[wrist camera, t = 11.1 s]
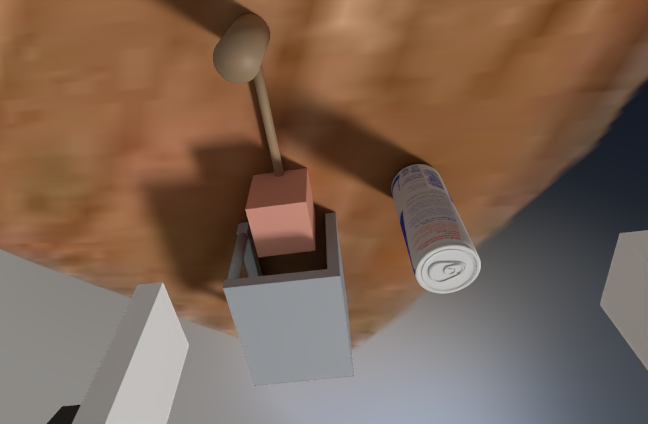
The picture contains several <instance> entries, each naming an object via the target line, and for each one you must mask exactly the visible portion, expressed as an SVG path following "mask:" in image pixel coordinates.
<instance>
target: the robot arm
mask: <svg viewBox="0 0 648 424" xmlns="http://www.w3.org/2000/svg"><path fill="white" fill-rule="evenodd" d="M600 305H601V307H602V308H603V310H604V311H605V312H606V314H607V315H608V316H609V318H610V319H611V321H612V322H613V323H614V325H615V326H616V327H617V329H618V330H619V331H620V333H621V334H622V336H624V338H625V340H626V341H627V342H628V344H629V345H630V347H631V348H632V349H633V350H634V352H635V353H636V355H637V356H638V357H639V359H640V360H641V362H642V363H643V364H644V366H645V367H646V368H647V370H648V230H646V231H637V232H628V233H620V234H619V238H618V242H617V245H616V249H615V252H614V256H613V259H612V263H611V266H610V270H609V274H608V277H607V281H606V285H605V288H604V292H603V295H602V299H601V302H600ZM188 347H189V344H188V342H187V339H186V337H185V335H184V332H183V330H182V327H181V325H180V323H179V320H178V318H177V315H176V313H175V310H174V308H173V306H172V303H171V301H170V298H169V296H168V293H167V291H166V289H165V286H164V284H163V282H160V283H151V284H141V285H137V287H136V289H135V291H134V293H133V296H132V298H131V300H130V302H129V304H128V306H127V308H126V311H125V312H124V315H123V317H122V319H121V321H120V323H119V325H118V328H117V330H116V332H115V334H114V336H113V338H112V340H111V342H110V344H109V346H108V348H107V351H106V353H105V355H104V357H103V359H102V361H101V363H100V365H99V367H98V370H97V372H96V374H95V376H94V378H93V380H92V382H91V384H90V387H89V389H88V391H87V393H86V395H85V397H84V399H83V401H82V403H81V405H74V406H63V407H61V409H60V410H59V411H58V412H57V413H56V414H55V415H54V416H53V418H51V420H50V421H49V422H48V423H47V424H167V420H168V417H169V413H170V409H171V406H172V402H173V399H174V396H175V392H176V389H177V385H178V382H179V379H180V375H181V371H182V368H183V365H184V361H185V358H186V354H187V351H188Z"/></svg>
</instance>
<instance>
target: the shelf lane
mask: <svg viewBox="0 0 648 424" xmlns="http://www.w3.org/2000/svg"><path fill="white" fill-rule="evenodd" d="M325 221H326V247H327V269H324V270H315V271H305V272H296V273H287V274H277V275H268V276H263V275H262V271H261V268H260V264H259V260H258V256H257V252H256V248H255V244H254V240H253V236H252V232H251V229H250V225H249V222H244V223H239V224H238V229H237V240H236V244H235V248H234V253H233V257H232V261H231V265H230V270H229V274H228V278H227V280H225V282H224V286H223V290H224V293H225V296H226V299H227V302H228V305H229V308H230V311H231V314H232V318H233V321H234V324H235V327H236V330H237V333H238V336H239V339H240V342H241V346H242V349H243V352H244V355H245V358H246V361H247V364H248V367H249V370H250V373H251V376H252V379H253V383H254V385H255V386H256V385H267V384H277V383H288V382H299V381H308V380H319V379H331V378H340V377H351V376H354V375H353V363H352V351H351V340H350V328H349V316H348V305H347V297H346V290H345V282H344V274H343V266H342V259H341V251H340V243H339V236H338V228H337V220H336V212H333V213H325ZM243 260H244V262H245V266H246V269H247V273H248V277H249V278H240V275H241V270H242V265H243Z"/></svg>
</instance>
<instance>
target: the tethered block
mask: <svg viewBox="0 0 648 424" xmlns="http://www.w3.org/2000/svg"><path fill="white" fill-rule="evenodd" d="M269 40H270V31H269V27H268V25H267V23H266V22H265V21H264V20H263V19H262V18H261V17H260V16H258V15H256V14H252V13H246V14H242V15H240V16H239V17H237V18H236V19H235V20H234V22H233V23H232V25H231V26H230V27H229V29H228V30H227V31H226V33H225V34H224V36H223V37H222V38H221V40H220V41H219V42H218V44H217V45H216V47H215V49H214V53H213V62H214V66H215V68H216V70H217V72H218V73H219V74H220V75H221V76H222V77H223V78H224V79H225V80H227V81H229V82H232V83H236V84H241V83H246V82H249V81H251V80H252V79H253V78H254V83H255V87H256V92H257V96H258V101H259V105H260V110H261V114H262V119H263V123H264V128H265V132H266V137H267V141H268V146H269V150H270V155H271V159H272V164H273V168H274V172H273V173H265V174H258V175H253V178H252V182H251V187H250V191H249V195H248V200H247V204H246V208H245V211H246V214H247V218H248V221H249V225H250V229H251V232H252V236H253V240H254V243H255V247H256V250H257V254H258V257H266V256H275V255H283V254H291V253H299V252H308V251H315V209H314V204H313V198H312V193H311V187H310V181H309V176H308V170H307V168H303V169H296V170H288V171H284V170H283V166H282V161H281V156H280V151H279V147H278V142H277V137H276V132H275V127H274V123H273V118H272V113H271V108H270V104H269V99H268V94H267V89H266V85H265V80H264V75H263V70H262V66H261V63H262V61H263V58H264V55H265V52H266V49H267V46H268V43H269Z"/></svg>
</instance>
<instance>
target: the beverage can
mask: <svg viewBox="0 0 648 424" xmlns="http://www.w3.org/2000/svg"><path fill="white" fill-rule="evenodd" d="M391 192H392V195H393V199H394V203H395V206H396V210H397V213H398V217H399V221H400V224H401V228H402V231H403V235H404V238H405V242H406V246H407V249H408V253H409V256H410V260H411V264H412V267H413V271H414V274H415V276H416V279H417V281H418V283H419V284H420V285H421V286H422V287H423V288H424V289H426V290H428V291H431V292H435V293H451V292H455V291H458V290H460V289H462V288H465V287H466V286H467V285H469V284H470V283H472V282H473V281H474V279H475V278H476V277H477V276H478V273H479V271H480V267H481V263H480V259H479V257H478V255H477V251H476V249H475V247H474V245H473V243H472V241H471V239H470V237H469V235H468V233H467V231H466V229H465V226H464V224H463V222H462V220H461V218H460V216H459V214H458V212H457V210H456V208H455V206H454V204H453V201H452V199H451V197H450V195H449V193H448V191H447V189H446V187H445V185H444V183H443V181H442V179H441V176H440V175H439V173H438V172H437V171H436V170H435V169H434V168H433V167H431V166H428V165H425V164H414V165H410V166H408V167H406V168H404V169H402V170H401V171H400V172H399V173H398V174H397V175H396V176H395V178H394V179H393V182H392V185H391Z"/></svg>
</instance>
